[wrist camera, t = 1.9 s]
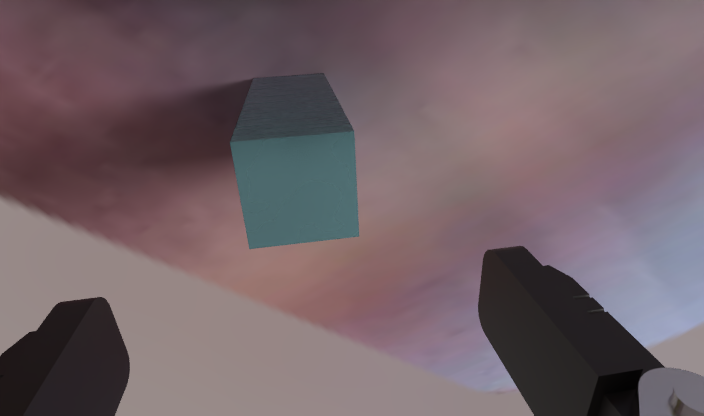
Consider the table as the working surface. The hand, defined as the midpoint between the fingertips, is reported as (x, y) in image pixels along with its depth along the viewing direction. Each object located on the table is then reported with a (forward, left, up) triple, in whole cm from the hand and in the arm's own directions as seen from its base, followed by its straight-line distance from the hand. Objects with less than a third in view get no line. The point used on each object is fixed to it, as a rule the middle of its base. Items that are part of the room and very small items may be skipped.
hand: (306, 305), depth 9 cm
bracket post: (0, 0, -18) cm, 18 cm away
